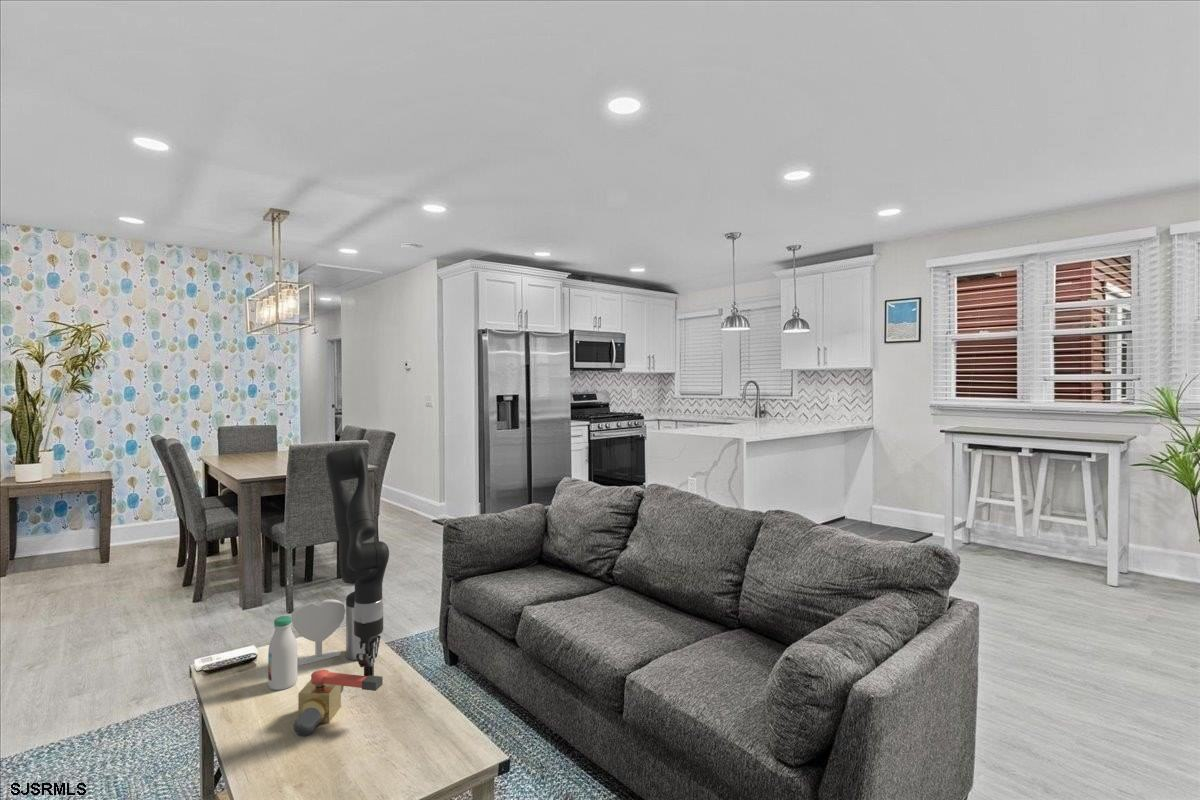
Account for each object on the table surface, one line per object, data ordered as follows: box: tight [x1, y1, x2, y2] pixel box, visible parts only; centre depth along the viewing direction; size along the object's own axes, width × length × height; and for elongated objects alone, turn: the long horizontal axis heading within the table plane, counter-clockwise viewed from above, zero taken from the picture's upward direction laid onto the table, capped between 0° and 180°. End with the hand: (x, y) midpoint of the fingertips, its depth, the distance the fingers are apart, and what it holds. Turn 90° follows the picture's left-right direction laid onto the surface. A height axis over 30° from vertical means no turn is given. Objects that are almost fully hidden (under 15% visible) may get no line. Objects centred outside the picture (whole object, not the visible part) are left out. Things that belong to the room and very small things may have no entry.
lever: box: [310, 669, 384, 692], centre depth 163 cm, size 20×4×2 cm, turn 79°
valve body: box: [293, 679, 345, 737], centre depth 165 cm, size 20×8×9 cm, turn 2°
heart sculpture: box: [291, 599, 346, 666], centre depth 199 cm, size 16×5×18 cm, turn 128°
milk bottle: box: [267, 615, 298, 691], centre depth 181 cm, size 8×8×20 cm
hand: (368, 678), depth 166 cm, fingers closed
